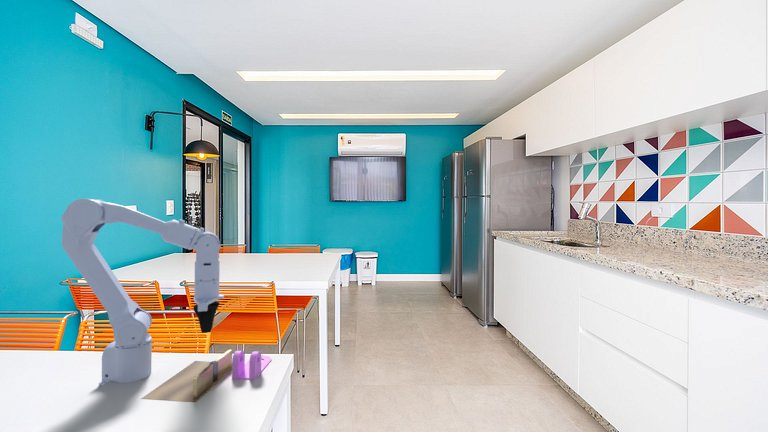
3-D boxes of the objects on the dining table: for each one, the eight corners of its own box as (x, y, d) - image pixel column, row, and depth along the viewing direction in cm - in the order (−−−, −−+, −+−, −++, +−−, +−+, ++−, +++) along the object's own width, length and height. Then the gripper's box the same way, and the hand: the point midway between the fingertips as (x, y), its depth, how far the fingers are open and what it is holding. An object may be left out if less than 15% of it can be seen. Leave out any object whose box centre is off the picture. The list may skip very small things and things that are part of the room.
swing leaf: (192, 397, 77) (193, 378, 77) (209, 381, 84) (209, 364, 84) (196, 397, 77) (196, 378, 77) (212, 381, 84) (213, 364, 84)
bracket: (254, 384, 86) (255, 355, 86) (231, 383, 86) (232, 354, 86) (274, 361, 99) (274, 335, 99) (254, 360, 99) (254, 335, 99)
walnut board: (141, 403, 76) (141, 398, 76) (195, 364, 95) (195, 360, 95) (195, 406, 76) (195, 402, 75) (239, 367, 94) (239, 363, 94)
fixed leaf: (207, 381, 84) (208, 363, 84) (227, 365, 93) (227, 349, 93) (215, 382, 84) (215, 364, 84) (233, 366, 93) (234, 349, 93)
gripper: (221, 284, 87) (220, 340, 88) (226, 273, 101) (226, 321, 102) (188, 285, 85) (187, 343, 86) (198, 274, 99) (198, 323, 99)
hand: (206, 331), depth 93 cm, fingers closed
